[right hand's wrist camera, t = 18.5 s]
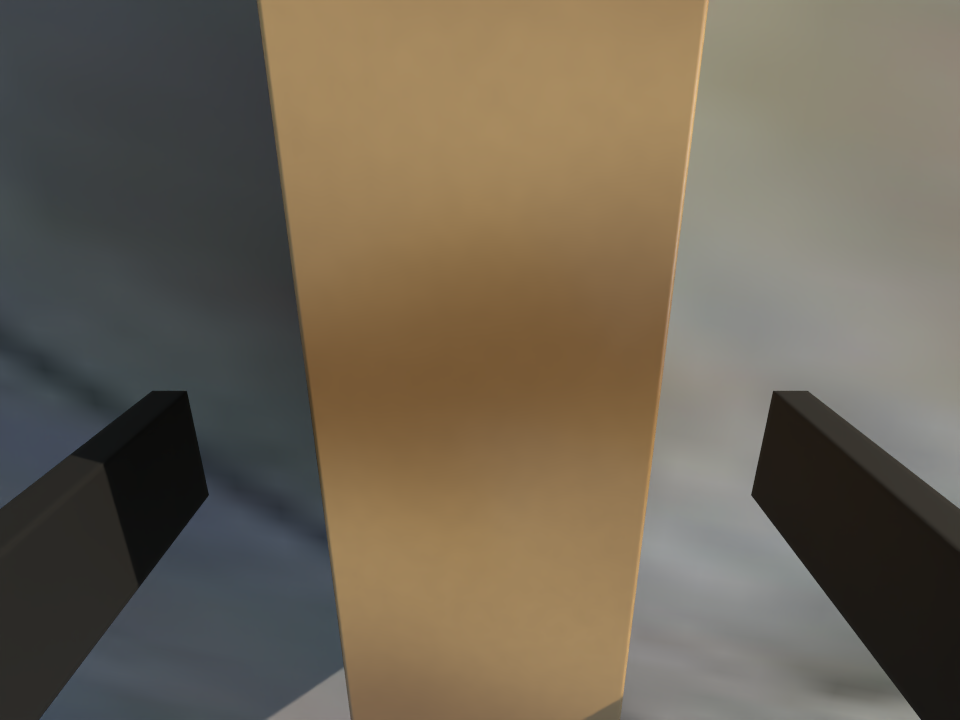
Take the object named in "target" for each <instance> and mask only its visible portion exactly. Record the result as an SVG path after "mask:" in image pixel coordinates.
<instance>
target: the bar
mask: <svg viewBox="0 0 960 720" xmlns="http://www.w3.org/2000/svg"><path fill="white" fill-rule="evenodd" d="M708 2H709V0H257V7H258V14H259V22H260V30H261V37H262V45H263V53H264V60H265V68H266V75H267V83H268V91H269V98H270V106H271V114H272V121H273V129H274V137H275V144H276V152H277V159H278V167H279V175H280V182H281V190H282V198H283V205H284V213H285V220H286V228H287V236H288V243H289V251H290V259H291V266H292V274H293V282H294V289H295V297H296V304H297V312H298V320H299V327H300V335H301V343H302V350H303V358H304V365H305V373H306V381H307V388H308V396H309V404H310V411H311V419H312V427H313V434H314V442H315V449H316V457H317V465H318V472H319V480H320V488H321V495H322V503H323V510H324V518H325V526H326V533H327V541H328V549H329V556H330V564H331V572H332V579H333V587H334V594H335V602H336V610H337V617H338V625H339V633H340V640H341V648H342V656H343V663H344V671H345V678H346V686H347V694H348V701H349V709H350V717H351V720H620V716H621V708H622V700H623V692H624V684H625V676H626V668H627V660H628V651H629V643H630V635H631V627H632V619H633V611H634V603H635V595H636V587H637V578H638V570H639V562H640V554H641V546H642V538H643V530H644V522H645V514H646V505H647V497H648V489H649V481H650V473H651V465H652V457H653V449H654V440H655V432H656V424H657V416H658V408H659V400H660V392H661V384H662V376H663V367H664V359H665V351H666V343H667V335H668V327H669V319H670V311H671V302H672V294H673V286H674V278H675V270H676V262H677V254H678V246H679V238H680V229H681V221H682V213H683V205H684V197H685V189H686V181H687V173H688V165H689V156H690V148H691V140H692V132H693V124H694V116H695V108H696V100H697V91H698V83H699V75H700V67H701V59H702V51H703V43H704V35H705V27H706V18H707V10H708Z"/></svg>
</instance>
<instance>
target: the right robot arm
mask: <svg viewBox="0 0 960 720" xmlns="http://www.w3.org/2000/svg"><path fill="white" fill-rule="evenodd" d="M208 495H209V494H208V489H207V485H206V480H205V475H204V470H203V466H202V461H201V456H200V451H199V447H198V442H197V437H196V432H195V428H194V423H193V418H192V413H191V409H190V404H189V399H188V394H187V391H152V392H150V393H149V394H148V395H147V396H145V397H144V398H143V399H141V400H140V401H139V402H138V403H136V404H135V405H134V406H132V407H131V408H130V409H129V410H127V411H126V412H125V413H123V414H122V415H121V416H120V417H118V418H117V419H116V420H114V421H113V422H112V423H110V424H109V425H108V426H107V427H105V428H104V429H103V430H101V431H100V432H99V433H98V434H96V435H95V436H94V437H92V438H91V439H90V440H89V441H87V442H86V443H85V444H83V445H82V446H81V447H80V448H78V449H77V450H76V451H74V452H73V453H72V454H71V455H69V456H68V457H67V458H65V459H64V460H63V461H62V462H60V463H59V464H58V465H56V466H55V467H54V468H53V469H51V470H50V471H49V472H47V473H46V474H45V475H44V476H42V477H41V478H40V479H38V480H37V481H36V482H35V483H33V484H32V485H31V486H29V487H28V488H27V489H26V490H24V491H23V492H22V493H20V494H19V495H18V496H17V497H15V498H14V499H13V500H11V501H10V502H9V503H8V504H6V505H5V506H4V507H2V508H1V509H0V720H39V719H40V718H41V716H42V715H43V714H44V712H45V711H46V710H47V708H48V707H49V706H50V704H51V703H52V702H53V700H54V699H55V698H56V696H57V695H58V694H59V692H60V691H61V690H62V688H63V687H64V686H65V684H66V683H67V682H68V681H69V679H70V678H71V677H72V675H73V674H74V673H75V671H76V670H77V669H78V667H79V666H80V665H81V663H82V662H83V661H84V659H85V658H86V657H87V655H88V654H89V653H90V651H91V650H92V649H93V647H94V646H95V645H96V644H97V642H98V641H99V640H100V638H101V637H102V636H103V634H104V633H105V632H106V630H107V629H108V628H109V626H110V625H111V624H112V622H113V621H114V620H115V618H116V617H117V616H118V614H119V613H120V612H121V610H122V609H123V608H124V606H125V605H126V604H127V603H128V601H129V600H130V599H131V597H132V596H133V595H134V593H135V592H136V591H137V589H138V588H139V587H140V585H141V584H142V583H143V581H144V580H145V579H146V577H147V576H148V575H149V573H150V572H151V571H152V569H153V568H154V567H155V565H156V564H157V563H158V562H159V560H160V559H161V558H162V556H163V555H164V554H165V552H166V551H167V550H168V548H169V547H170V546H171V544H172V543H173V542H174V540H175V539H176V538H177V536H178V535H179V534H180V532H181V531H182V530H183V528H184V527H185V526H186V525H187V523H188V522H189V521H190V519H191V518H192V517H193V515H194V514H195V513H196V511H197V510H198V509H199V507H200V506H201V505H202V503H203V502H204V501H205V499H206V498H207V497H208ZM751 495H752V497H753V498H754V499H755V501H756V502H757V503H758V505H759V506H760V507H761V509H762V510H763V511H764V513H765V514H766V515H767V517H768V518H769V519H770V521H771V522H772V523H773V525H774V526H775V527H776V528H777V530H778V531H779V532H780V534H781V535H782V536H783V538H784V539H785V540H786V542H787V543H788V544H789V546H790V547H791V548H792V550H793V551H794V552H795V554H796V555H797V556H798V558H799V559H800V560H801V562H802V563H803V564H804V565H805V567H806V568H807V569H808V571H809V572H810V573H811V575H812V576H813V577H814V579H815V580H816V581H817V583H818V584H819V585H820V587H821V588H822V589H823V591H824V592H825V593H826V595H827V596H828V597H829V599H830V600H831V601H832V603H833V604H834V605H835V606H836V608H837V609H838V610H839V612H840V613H841V614H842V616H843V617H844V618H845V620H846V621H847V622H848V624H849V625H850V626H851V628H852V629H853V630H854V632H855V633H856V634H857V636H858V637H859V638H860V640H861V641H862V642H863V644H864V645H865V646H866V647H867V649H868V650H869V651H870V653H871V654H872V655H873V657H874V658H875V659H876V661H877V662H878V663H879V665H880V666H881V667H882V669H883V670H884V671H885V673H886V674H887V675H888V677H889V678H890V679H891V681H892V682H893V683H894V684H895V686H896V687H897V688H898V690H899V691H900V692H901V694H902V695H903V696H904V698H905V699H906V700H907V702H908V703H909V704H910V706H911V707H912V708H913V710H914V711H915V712H916V714H917V715H918V716H919V718H920V719H921V720H960V509H959V508H958V507H956V506H955V505H954V504H952V503H951V502H950V501H949V500H947V499H946V498H945V497H943V496H942V495H941V494H940V493H938V492H937V491H936V490H934V489H933V488H932V487H931V486H929V485H928V484H927V483H925V482H924V481H923V480H922V479H920V478H919V477H918V476H916V475H915V474H914V473H913V472H911V471H910V470H909V469H907V468H906V467H905V466H904V465H902V464H901V463H900V462H898V461H897V460H896V459H895V458H893V457H892V456H891V455H889V454H888V453H887V452H886V451H884V450H883V449H882V448H880V447H879V446H878V445H877V444H875V443H874V442H873V441H871V440H870V439H869V438H868V437H866V436H865V435H864V434H862V433H861V432H860V431H859V430H857V429H856V428H855V427H853V426H852V425H851V424H849V423H848V422H847V421H846V420H844V419H843V418H842V417H840V416H839V415H838V414H837V413H835V412H834V411H833V410H831V409H830V408H829V407H828V406H826V405H825V404H824V403H822V402H821V401H820V400H819V399H817V398H816V397H815V396H813V395H812V394H811V393H810V392H808V391H773V394H772V399H771V404H770V409H769V413H768V418H767V423H766V428H765V432H764V437H763V442H762V447H761V451H760V456H759V461H758V466H757V470H756V475H755V480H754V485H753V489H752V494H751Z"/></svg>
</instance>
